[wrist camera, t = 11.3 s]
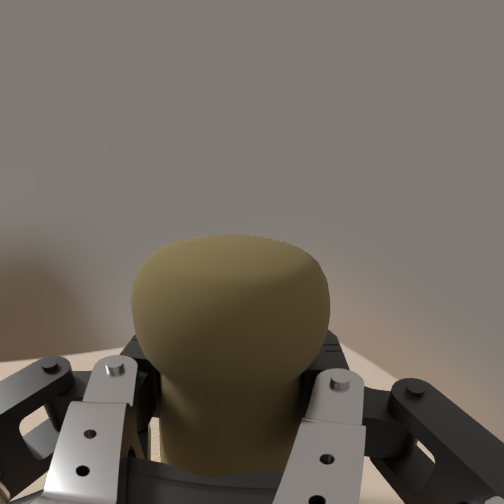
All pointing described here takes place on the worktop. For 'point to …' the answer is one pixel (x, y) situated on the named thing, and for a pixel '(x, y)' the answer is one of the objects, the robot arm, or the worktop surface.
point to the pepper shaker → (230, 348)
